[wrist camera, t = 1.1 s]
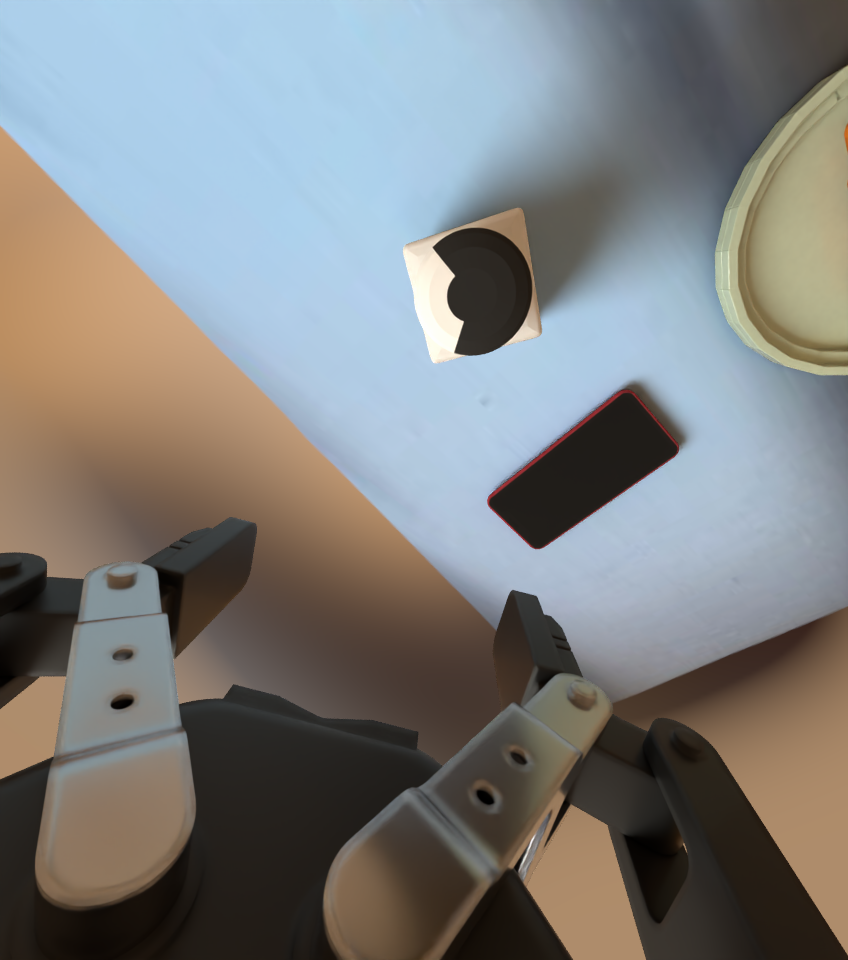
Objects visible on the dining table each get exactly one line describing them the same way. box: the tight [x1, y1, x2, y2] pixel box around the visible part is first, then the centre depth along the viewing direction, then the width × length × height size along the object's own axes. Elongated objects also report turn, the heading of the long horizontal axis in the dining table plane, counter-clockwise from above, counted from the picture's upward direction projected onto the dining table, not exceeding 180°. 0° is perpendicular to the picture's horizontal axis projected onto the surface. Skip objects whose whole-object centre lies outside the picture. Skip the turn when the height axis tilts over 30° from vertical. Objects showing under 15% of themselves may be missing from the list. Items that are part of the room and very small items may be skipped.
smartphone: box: [487, 390, 679, 549], centre depth 37 cm, size 7×1×15 cm
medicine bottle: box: [403, 208, 542, 363], centre depth 27 cm, size 7×7×12 cm
